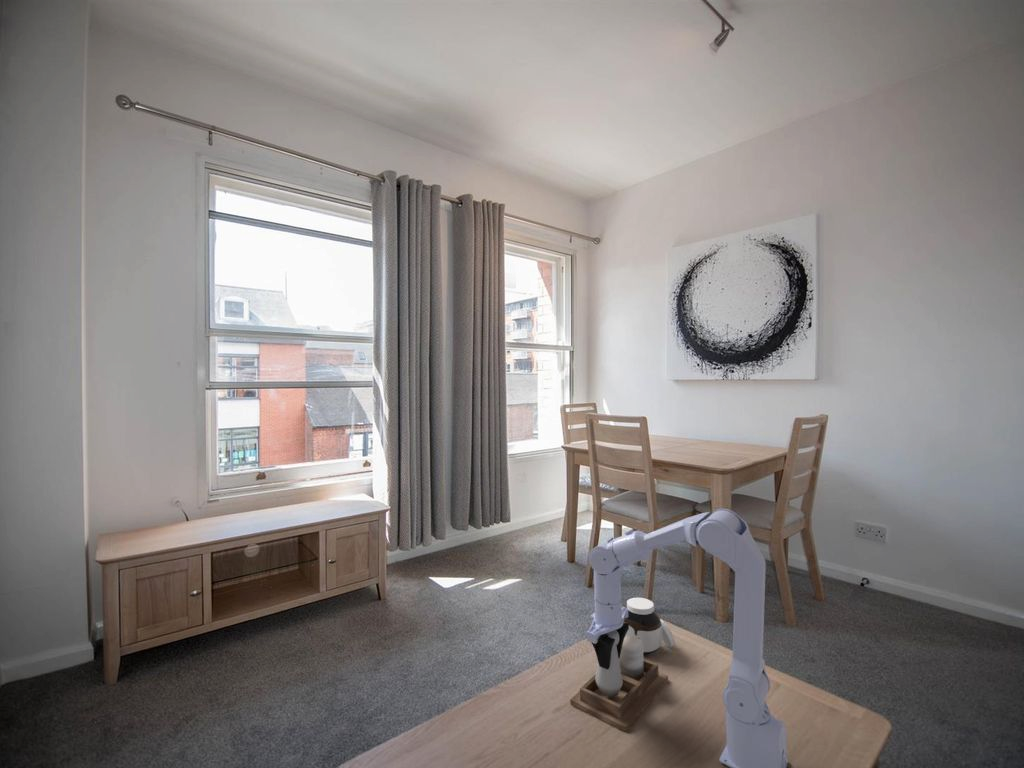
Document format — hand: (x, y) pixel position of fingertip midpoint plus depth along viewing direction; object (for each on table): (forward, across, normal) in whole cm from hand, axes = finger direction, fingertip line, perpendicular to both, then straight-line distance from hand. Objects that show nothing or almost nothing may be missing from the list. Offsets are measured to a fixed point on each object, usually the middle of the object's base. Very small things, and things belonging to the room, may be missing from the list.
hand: (609, 662), depth 101 cm
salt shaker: (+6, 0, 0) cm, 6 cm away
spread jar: (+9, -26, -3) cm, 27 cm away
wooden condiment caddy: (+9, -5, 0) cm, 10 cm away
